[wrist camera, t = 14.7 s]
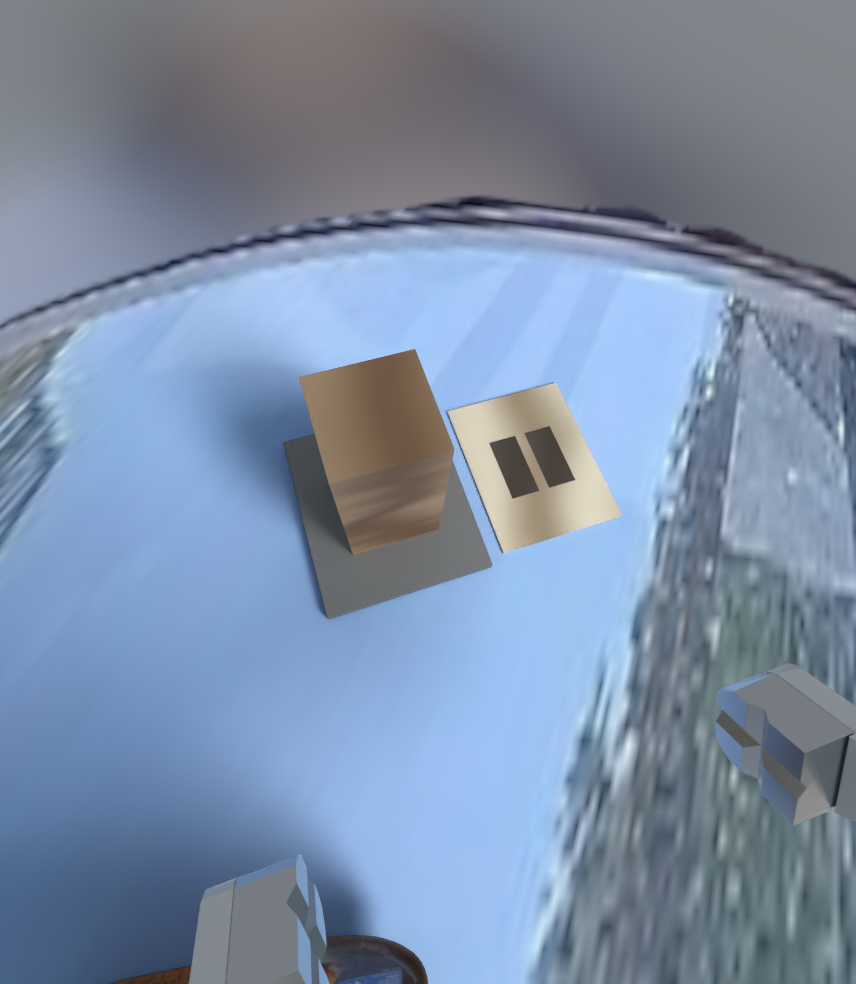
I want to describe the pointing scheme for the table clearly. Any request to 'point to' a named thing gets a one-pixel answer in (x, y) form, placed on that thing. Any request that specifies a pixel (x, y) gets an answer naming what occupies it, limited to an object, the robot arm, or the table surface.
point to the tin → (339, 964)
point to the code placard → (532, 467)
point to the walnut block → (381, 447)
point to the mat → (388, 566)
